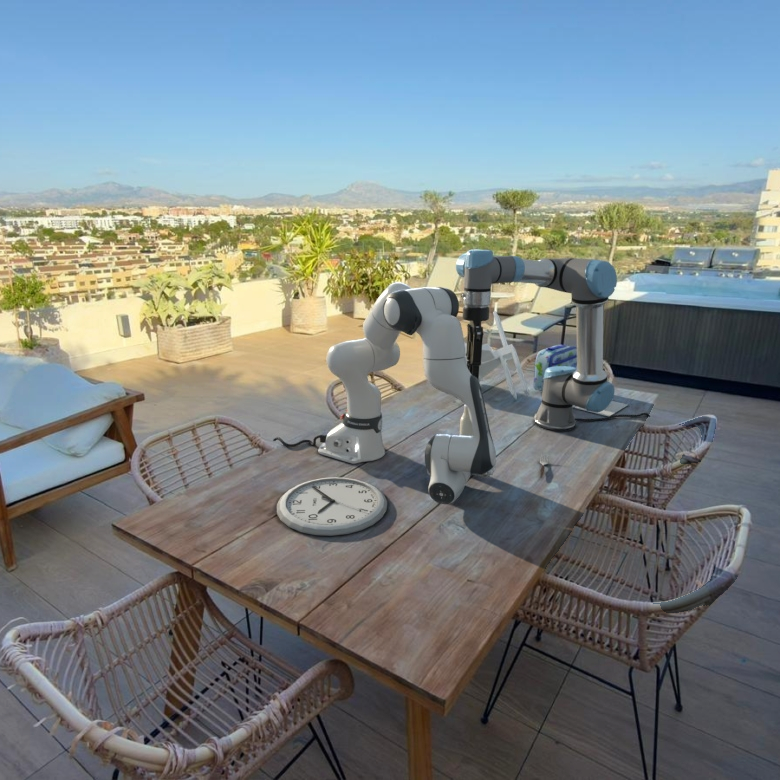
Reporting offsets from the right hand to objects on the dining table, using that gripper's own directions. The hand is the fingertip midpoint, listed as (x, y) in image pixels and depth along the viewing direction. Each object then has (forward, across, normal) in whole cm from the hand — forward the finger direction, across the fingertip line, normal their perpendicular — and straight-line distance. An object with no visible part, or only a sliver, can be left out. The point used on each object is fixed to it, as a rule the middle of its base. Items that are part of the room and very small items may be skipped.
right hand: (471, 383), depth 156 cm
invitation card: (+30, -64, +68) cm, 97 cm away
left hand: (+22, 0, 0) cm, 22 cm away
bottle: (+29, 0, -1) cm, 29 cm away
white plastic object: (+29, -82, +18) cm, 89 cm away
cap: (-2, 0, 0) cm, 2 cm away
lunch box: (+30, -88, +55) cm, 108 cm away
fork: (+29, -2, +24) cm, 38 cm away
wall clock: (+28, +22, -40) cm, 54 cm away
